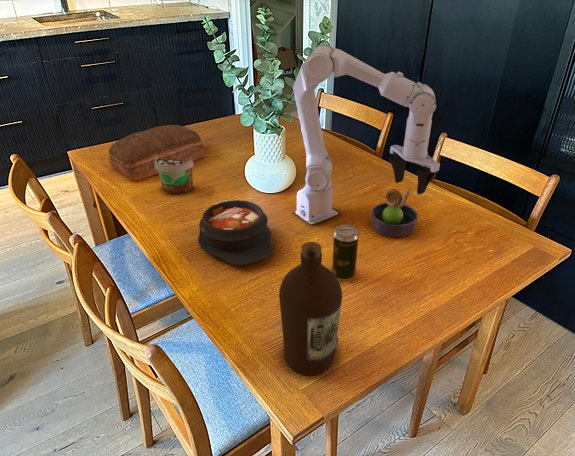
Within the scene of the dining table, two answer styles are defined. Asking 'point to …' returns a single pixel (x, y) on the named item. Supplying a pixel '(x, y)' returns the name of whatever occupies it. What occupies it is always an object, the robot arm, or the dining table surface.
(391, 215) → the snail figurine
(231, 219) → the casserole
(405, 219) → the bowl
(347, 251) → the beer can
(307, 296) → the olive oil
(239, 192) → the dining table surface
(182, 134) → the bread
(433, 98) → the robot arm
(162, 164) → the food container
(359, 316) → the dining table surface
